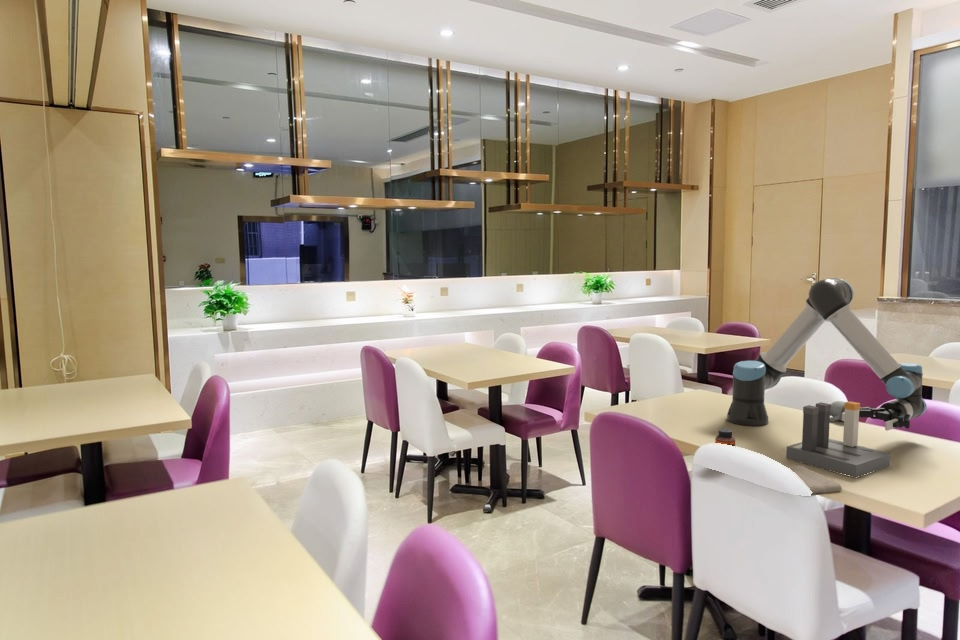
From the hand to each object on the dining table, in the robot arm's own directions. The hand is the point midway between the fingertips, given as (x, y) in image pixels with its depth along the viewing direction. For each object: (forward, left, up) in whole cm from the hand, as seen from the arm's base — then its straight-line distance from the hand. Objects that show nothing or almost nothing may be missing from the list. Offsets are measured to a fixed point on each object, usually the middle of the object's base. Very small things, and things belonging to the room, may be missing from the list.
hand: (864, 421), depth 208 cm
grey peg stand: (-1, -14, -11) cm, 18 cm away
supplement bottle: (-19, -46, -11) cm, 51 cm away
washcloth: (+3, -40, -12) cm, 42 cm away
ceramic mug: (-27, +37, -11) cm, 47 cm away
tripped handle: (-1, -7, -7) cm, 10 cm away
